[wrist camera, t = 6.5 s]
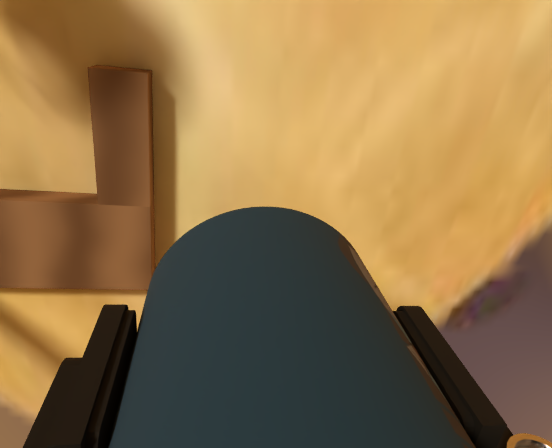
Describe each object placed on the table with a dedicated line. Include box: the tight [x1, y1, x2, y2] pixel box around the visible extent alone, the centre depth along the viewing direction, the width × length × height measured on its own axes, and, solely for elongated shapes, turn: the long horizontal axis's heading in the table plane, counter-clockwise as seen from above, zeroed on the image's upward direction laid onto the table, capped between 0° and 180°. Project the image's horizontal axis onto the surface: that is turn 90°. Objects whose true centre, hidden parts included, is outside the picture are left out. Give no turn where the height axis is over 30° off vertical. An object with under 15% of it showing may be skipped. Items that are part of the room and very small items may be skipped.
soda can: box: [108, 207, 475, 448], centre depth 9 cm, size 7×7×12 cm
